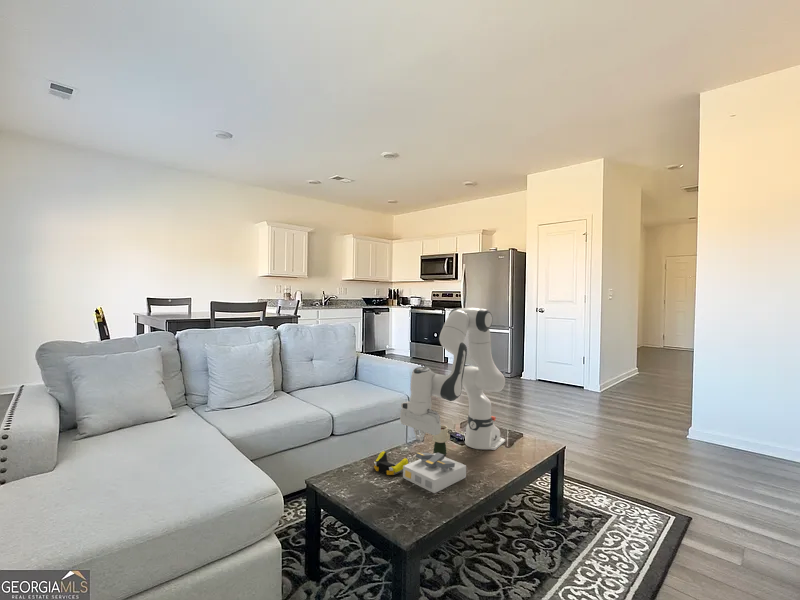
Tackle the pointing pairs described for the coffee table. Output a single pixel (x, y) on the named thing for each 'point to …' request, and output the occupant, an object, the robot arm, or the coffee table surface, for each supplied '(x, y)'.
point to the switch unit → (433, 474)
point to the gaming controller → (388, 465)
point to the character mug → (441, 440)
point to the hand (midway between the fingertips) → (419, 440)
